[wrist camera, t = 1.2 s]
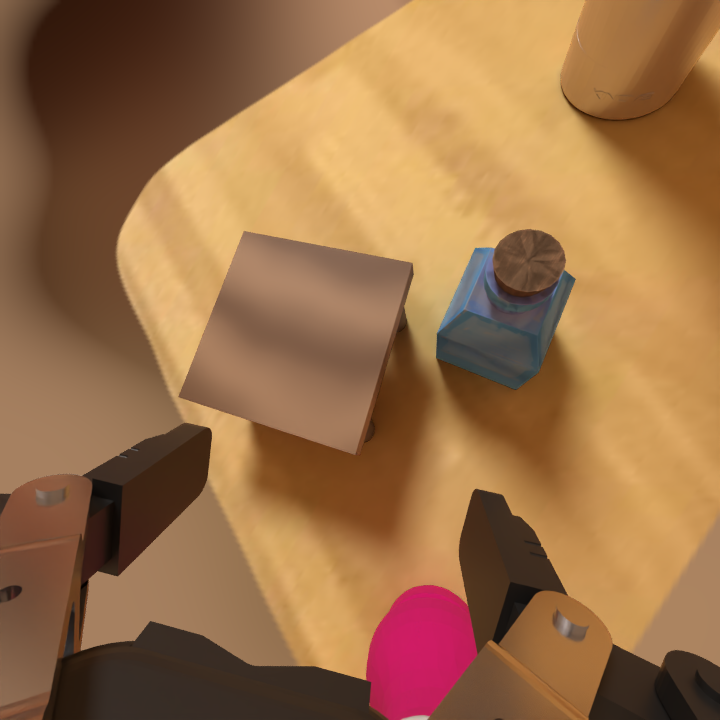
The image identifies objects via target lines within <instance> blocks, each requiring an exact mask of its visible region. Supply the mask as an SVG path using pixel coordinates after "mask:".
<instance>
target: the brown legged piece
mask: <svg viewBox="0 0 720 720" xmlns="http://www.w3.org/2000/svg"><path fill="white" fill-rule="evenodd" d="M413 275H414V273H413V263H410V262H404V261H399V260H394V259H389V258H383V257H378V256H373V255H367V254H362V253H357V252H352V251H346V250H341V249H336V248H330V247H325V246H320V245H315V244H309V243H304V242H299V241H293V240H288V239H283V238H278V237H272V236H267V235H262V234H256V233H251V232H246V231H244V232H243V235H242V237H241V240H240V242H239V245H238V247H237V250H236V253H235V255H234V258H233V260H232V263H231V265H230V268H229V270H228V273H227V275H226V278H225V280H224V283H223V285H222V288H221V291H220V293H219V296H218V298H217V301H216V303H215V306H214V308H213V311H212V313H211V316H210V318H209V321H208V323H207V326H206V329H205V331H204V334H203V336H202V339H201V341H200V344H199V346H198V349H197V351H196V354H195V356H194V359H193V362H192V364H191V367H190V369H189V372H188V374H187V377H186V379H185V382H184V384H183V387H182V389H181V392H180V394H179V397H180V398H183V399H186V400H189V401H192V402H195V403H198V404H201V405H204V406H207V407H210V408H213V409H216V410H219V411H222V412H226V413H229V414H232V415H235V416H238V417H241V418H244V419H247V420H250V421H253V422H256V423H259V424H262V425H265V426H268V427H271V428H274V429H277V430H280V431H283V432H287V433H290V434H293V435H296V436H299V437H302V438H305V439H308V440H311V441H314V442H317V443H320V444H323V445H326V446H329V447H332V448H335V449H338V450H341V451H344V452H347V453H351V454H354V455H360V453H361V450H362V447H363V443H364V442H367V441H369V440H370V439H371V438H372V437H373V435H374V431H375V428H374V424H373V422H372V421H371V416H372V413H373V409H374V406H375V403H376V399H377V396H378V393H379V389H380V386H381V382H382V379H383V376H384V372H385V369H386V366H387V362H388V359H389V356H390V352H391V349H392V345H393V342H394V339H395V335H396V333H397V332H399V331H401V330H402V329H403V328H404V327H405V325H406V321H407V320H406V314H405V309H404V305H405V302H406V298H407V295H408V291H409V288H410V285H411V281H412V278H413Z"/></svg>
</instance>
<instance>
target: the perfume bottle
mask: <svg viewBox="0 0 720 720" xmlns="http://www.w3.org/2000/svg"><path fill="white" fill-rule="evenodd" d="M565 263H566V259H565V253H564V250H563V248H562V247H561V245H560V243H559V242H558V241H557V240H556V239H555V238H553V237H552V236H551V235H549V234H547V233H545V232H542V231H539V230H532V229H527V230H518V231H516V232H513V233H511V234H509V235H507V236H506V237H505V238H503V239H502V240H501V241H500V242H499V244H498V245H497V247H496V248H495V249H494V248H475V250H474V252H473V254H472V256H471V259H470V261H469V263H468V265H467V268H466V270H465V272H464V274H463V277H462V279H461V281H460V283H459V286H458V288H457V290H456V292H455V294H454V297H453V299H452V301H451V303H450V306H449V308H448V310H447V312H446V315H445V317H444V319H443V321H442V324H441V326H440V328H439V330H438V332H437V348H436V358H438V359H440V360H443V361H445V362H448V363H450V364H453V365H455V366H458V367H460V368H463V369H465V370H468V371H470V372H473V373H475V374H478V375H480V376H483V377H485V378H487V379H490V380H492V381H495V382H497V383H500V384H502V385H505V386H507V387H510V388H512V389H515V390H516V389H518V388H519V387H520V386H522V385H523V384H524V383H526V382H527V381H528V380H529V379H531V378H532V377H533V376H535V375H536V374H537V373H539V370H540V368H541V365H542V363H543V360H544V358H545V355H546V353H547V350H548V348H549V345H550V343H551V340H552V338H553V335H554V333H555V330H556V328H557V325H558V322H559V320H560V317H561V315H562V312H563V310H564V307H565V305H566V302H567V300H568V297H569V295H570V292H571V290H572V287H573V285H574V282H575V280H576V279H575V278H574V277H572V276H571V275H570V274H569V273H567V272H566V271H565V270H564V267H565Z"/></svg>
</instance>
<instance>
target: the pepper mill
mask: <svg viewBox="0 0 720 720" xmlns="http://www.w3.org/2000/svg"><path fill="white" fill-rule="evenodd" d="M477 655H478V654H477V649H476V644H475V639H474V633H473V628H472V623H471V618H470V613H469V607H468V606H467V604H466V603H465V602H464V601H463V600H461V599H460V598H459V597H458V596H457V595H455V594H454V593H452V592H451V591H449V590H447V589H444V588H442V587H438V586H434V585H423V586H418V587H414V588H411V589H409V590H407V591H406V592H404V593H403V594H402V595H401V596H400V597H399V598H397V600H396V601H395V602H394V604H393V605H392V607H391V609H390V611H389V613H388V614H387V615H386V616H385V617H384V618H383V620H382V621H381V622H380V624H379V625H378V627H377V629H376V631H375V633H374V635H373V638H372V641H371V644H370V648H369V654H368V660H367V671H366V679H367V681H369V682H371V692H370V706H371V707H372V708H374V709H376V710H377V711H379V712H380V713H381V714H383V715H384V716H385V717H386V718H388V719H389V720H427V719H428V718H429V717H430V715H431V714H432V713H433V712H434V710H435V709H436V708H437V706H438V705H439V704H440V703H441V701H442V700H443V699H444V697H445V696H446V695H447V694H448V692H449V691H450V690H451V688H452V687H453V686H454V685H455V683H456V682H457V681H458V679H459V678H460V677H461V676H462V674H463V673H464V672H465V670H466V669H467V668H468V666H469V665H470V664H471V663H472V661H473V660H474V659H475V657H476V656H477Z"/></svg>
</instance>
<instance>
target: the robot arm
mask: <svg viewBox="0 0 720 720" xmlns="http://www.w3.org/2000/svg"><path fill="white" fill-rule="evenodd" d="M719 29H720V0H585V3H584V6H583V9H582V12H581V15H580V17H579V20H578V23H577V26H576V29H575V32H574V35H573V38H572V41H571V44H570V47H569V50H568V53H567V56H566V59H565V62H564V65H563V68H562V72H561V86H562V89H563V92H564V94H565V96H566V97H567V99H568V100H569V101H570V102H571V103H572V104H573V105H574V106H575V107H576V108H578V109H580V110H581V111H583V112H585V113H587V114H589V115H592V116H595V117H598V118H604V119H616V120H624V119H630V118H637V117H640V116H643V115H646V114H649V113H651V112H653V111H655V110H657V109H659V108H660V107H662V106H663V105H664V104H666V103H667V102H668V101H669V100H670V99H671V98H672V97H673V96H674V94H675V93H676V92H677V90H678V89H679V88H680V86H681V85H682V83H683V82H684V80H685V79H686V77H687V76H688V74H689V73H690V71H691V70H692V68H693V67H694V65H695V64H696V62H697V61H698V59H699V58H700V56H701V55H702V53H703V52H704V51H705V49H706V48H707V46H708V45H709V43H710V42H711V41H712V39H713V38H714V36H715V35H716V33H717V32H718V30H719ZM211 440H212V432H211V429H210V428H207V427H203V426H198V425H194V424H189V423H183V424H181V425H180V426H178V427H177V428H175V429H173V430H171V431H170V432H168V433H167V434H165V435H164V434H162V435H159V436H155V437H152V438H148V439H145V440H144V441H142V442H140V443H138V444H136V445H135V446H133V447H131V449H128V450H126V451H124V452H123V453H121V454H120V455H119V456H116V457H114V458H112V459H111V460H109V461H107V462H105V463H103V464H102V465H100V466H98V467H97V468H95V469H93V470H91V471H90V472H88V473H86V474H84V475H83V476H80V475H74V474H57V475H50V476H46V477H41V478H38V479H35V480H32V481H30V482H27V483H25V484H23V485H21V486H20V487H18V488H17V489H15V490H14V491H13V492H12V494H0V720H389V719H388V718H386V717H385V716H384V715H383V714H381V713H380V712H379V711H377V710H376V709H374V708H372V707H371V706H369V703H370V692H371V682H369V681H366V680H362V679H359V678H355V677H351V676H348V675H344V674H340V673H337V672H333V671H330V670H326V669H322V668H319V667H315V666H252V665H250V664H247V663H246V662H244V661H242V660H241V659H239V658H238V657H236V656H234V655H233V654H231V653H230V652H228V651H226V650H225V649H223V648H222V647H220V646H218V645H217V644H215V643H214V642H212V641H210V640H209V639H207V638H206V637H204V636H202V635H199V634H195V633H191V632H188V631H184V630H180V629H177V628H173V627H170V626H166V625H163V624H159V623H155V622H151V621H150V622H149V624H148V625H147V626H146V627H145V629H144V630H143V631H142V633H141V634H140V635H139V636H138V638H137V639H136V640H135V641H125V642H116V643H110V644H105V645H100V646H96V647H93V648H89V649H86V650H83V651H81V644H82V637H83V629H84V621H85V614H86V605H87V599H88V591H89V578H90V577H91V576H92V575H94V574H95V573H96V572H97V571H99V572H103V573H107V574H111V575H114V576H119V575H120V574H121V573H122V572H123V571H124V570H125V569H126V568H127V567H128V566H129V565H130V564H131V563H132V562H133V561H134V560H135V559H136V558H137V557H138V556H139V555H140V554H141V553H142V552H143V551H144V550H145V549H146V548H147V547H148V546H149V545H150V544H151V543H152V542H153V541H154V540H155V539H156V538H157V537H158V536H159V535H160V534H161V533H162V532H163V531H164V530H165V529H166V528H167V527H168V526H169V525H170V524H171V523H172V522H173V521H174V520H175V519H176V518H177V517H178V516H179V515H180V514H181V513H182V512H183V511H184V510H185V509H186V508H187V507H188V506H189V505H190V504H191V503H192V502H193V501H194V500H195V499H196V498H197V497H198V496H199V495H200V493H201V492H202V490H203V488H204V486H205V484H206V481H207V477H208V468H209V459H210V449H211ZM459 561H460V566H461V571H462V576H463V581H464V587H465V592H466V597H467V602H468V607H469V613H470V618H471V623H472V628H473V633H474V639H475V644H476V649H477V654H478V655H477V656H476V657H475V659H474V660H473V661H472V663H471V664H470V665H469V666H468V668H467V669H466V670H465V672H464V673H463V674H462V676H461V677H460V678H459V679H458V681H457V682H456V683H455V685H454V686H453V687H452V688H451V690H450V691H449V692H448V694H447V695H446V696H445V697H444V699H443V700H442V701H441V703H440V704H439V705H438V706H437V708H436V709H435V710H434V712H433V713H432V714H431V715H430V717H429V718H428V719H427V720H720V667H718V666H717V665H715V664H713V663H712V662H710V661H708V660H706V659H704V658H702V657H700V656H697V655H695V654H692V653H689V652H685V651H679V650H675V651H670V652H668V653H667V655H666V656H665V658H664V660H663V663H662V665H661V667H658V666H656V665H654V664H652V663H650V662H648V661H646V660H644V659H642V658H640V657H638V656H636V655H634V654H632V653H630V652H628V651H626V650H623V649H622V648H620V647H618V646H616V645H614V644H613V643H612V638H611V635H610V633H609V631H608V629H607V627H606V626H605V625H604V623H603V622H602V621H601V620H600V619H599V617H598V616H597V615H595V614H594V613H593V612H592V611H591V610H590V609H589V608H587V607H586V606H585V605H583V604H582V603H580V602H579V601H577V600H575V599H573V598H571V597H569V596H568V595H567V593H566V591H565V589H564V587H563V585H562V583H561V581H560V579H559V578H558V576H557V574H556V572H555V570H554V568H553V566H552V564H551V562H550V560H549V559H547V555H546V553H545V551H544V549H543V547H541V543H540V541H539V539H538V537H537V536H536V534H535V532H534V530H533V529H532V528H531V527H530V526H529V525H528V524H527V523H526V522H525V521H524V520H523V519H522V518H521V517H518V516H514V515H512V513H511V511H510V509H509V507H508V505H507V503H506V501H505V498H504V496H503V495H501V494H497V493H492V492H488V491H483V490H479V489H475V490H474V491H473V493H472V496H471V500H470V504H469V507H468V511H467V515H466V519H465V522H464V526H463V530H462V533H461V538H460V544H459Z"/></svg>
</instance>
